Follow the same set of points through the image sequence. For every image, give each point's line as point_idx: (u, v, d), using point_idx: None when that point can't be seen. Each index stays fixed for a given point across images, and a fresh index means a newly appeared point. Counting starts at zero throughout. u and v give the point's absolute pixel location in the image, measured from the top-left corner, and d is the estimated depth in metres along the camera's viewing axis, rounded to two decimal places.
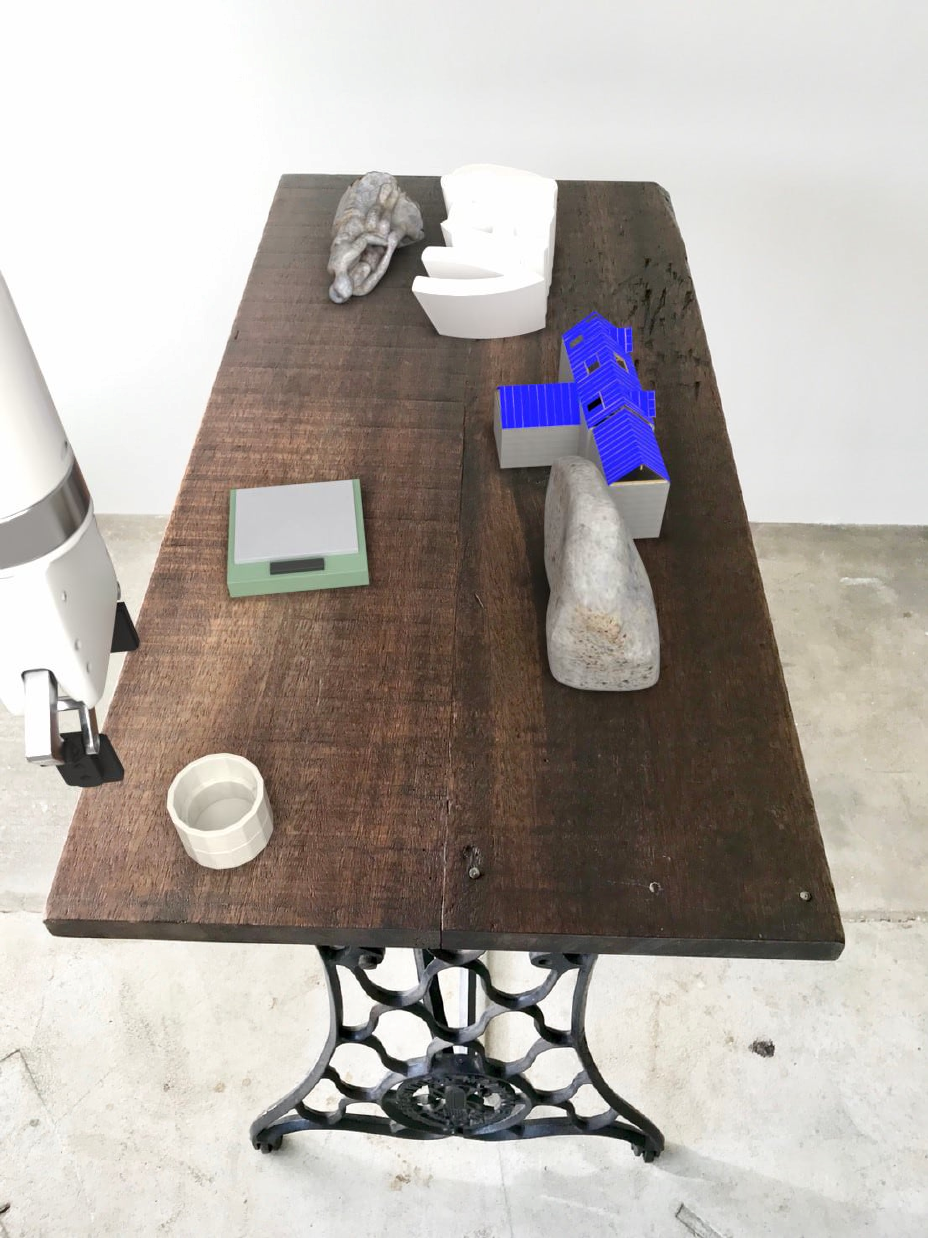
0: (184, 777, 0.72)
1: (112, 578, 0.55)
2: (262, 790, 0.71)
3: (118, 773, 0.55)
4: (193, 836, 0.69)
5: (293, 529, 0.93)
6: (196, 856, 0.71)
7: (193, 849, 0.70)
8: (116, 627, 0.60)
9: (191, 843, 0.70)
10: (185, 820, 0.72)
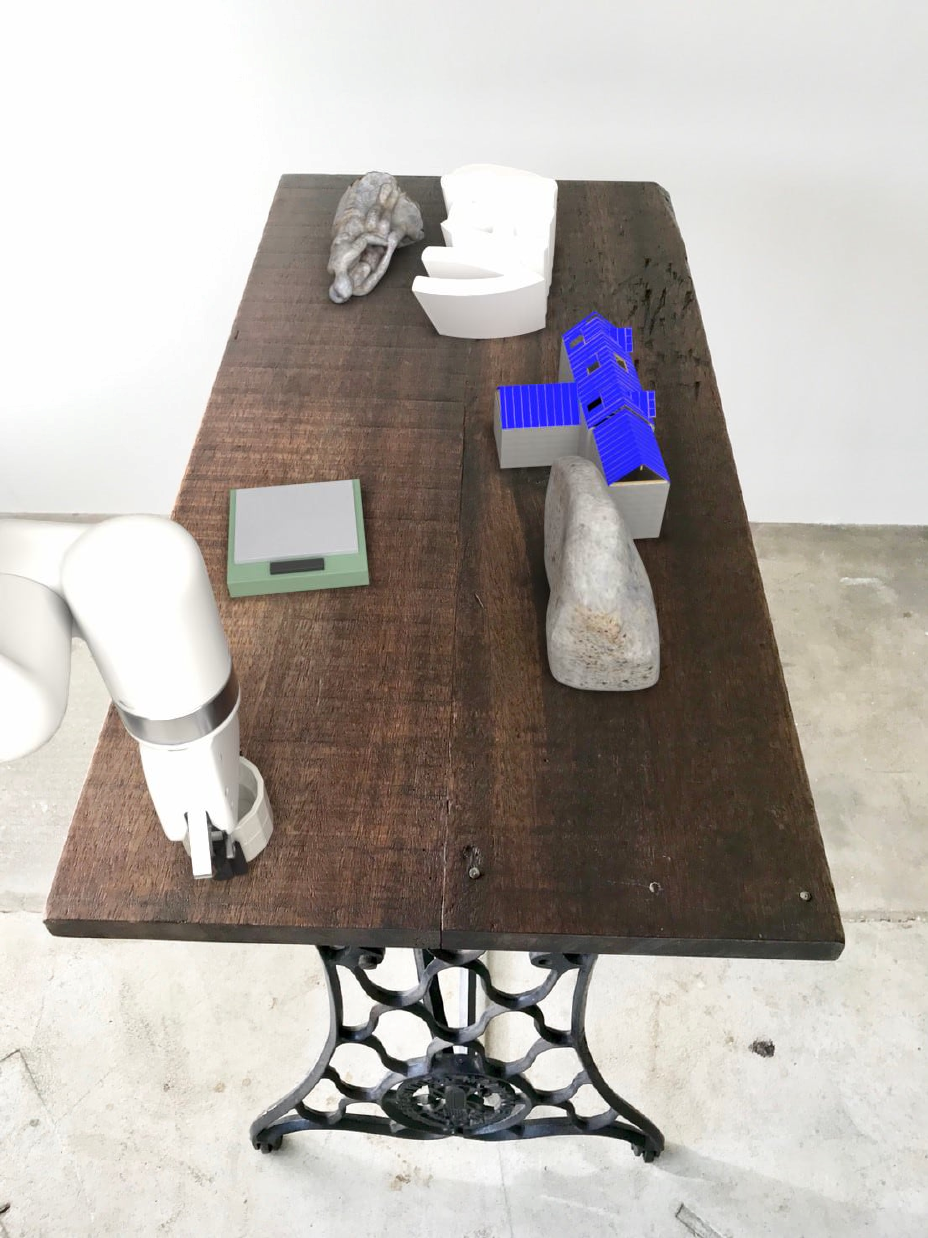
0: None
1: (238, 724, 0.70)
2: (262, 790, 0.71)
3: (244, 869, 0.71)
4: None
5: (293, 529, 0.93)
6: None
7: None
8: None
9: None
10: None
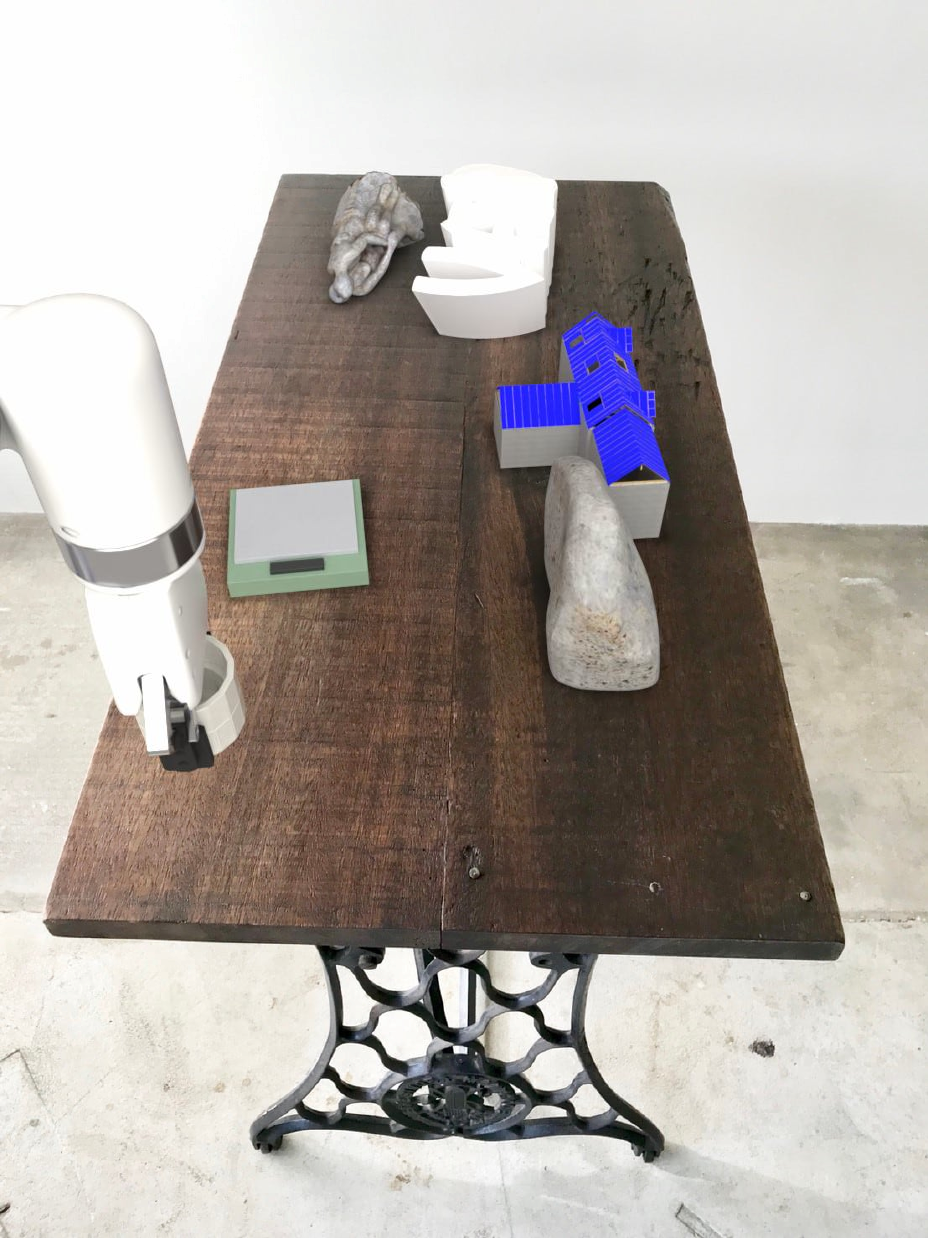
0: None
1: (205, 593, 0.61)
2: (232, 670, 0.62)
3: (210, 760, 0.62)
4: None
5: (293, 529, 0.93)
6: None
7: None
8: None
9: None
10: None
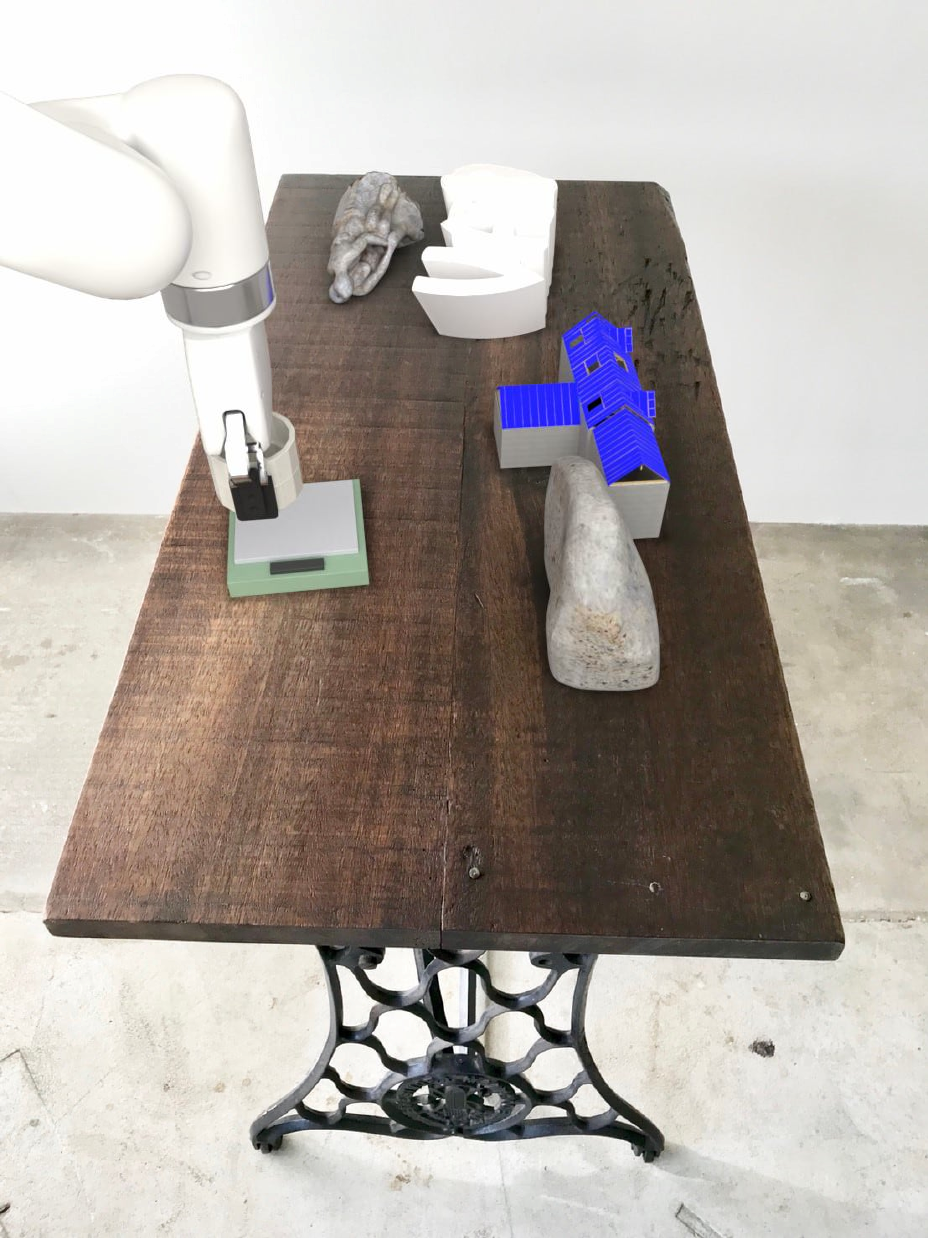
0: None
1: None
2: (293, 435, 0.75)
3: (275, 510, 0.75)
4: None
5: (293, 529, 0.93)
6: (231, 499, 0.76)
7: (228, 489, 0.75)
8: None
9: (227, 479, 0.74)
10: None
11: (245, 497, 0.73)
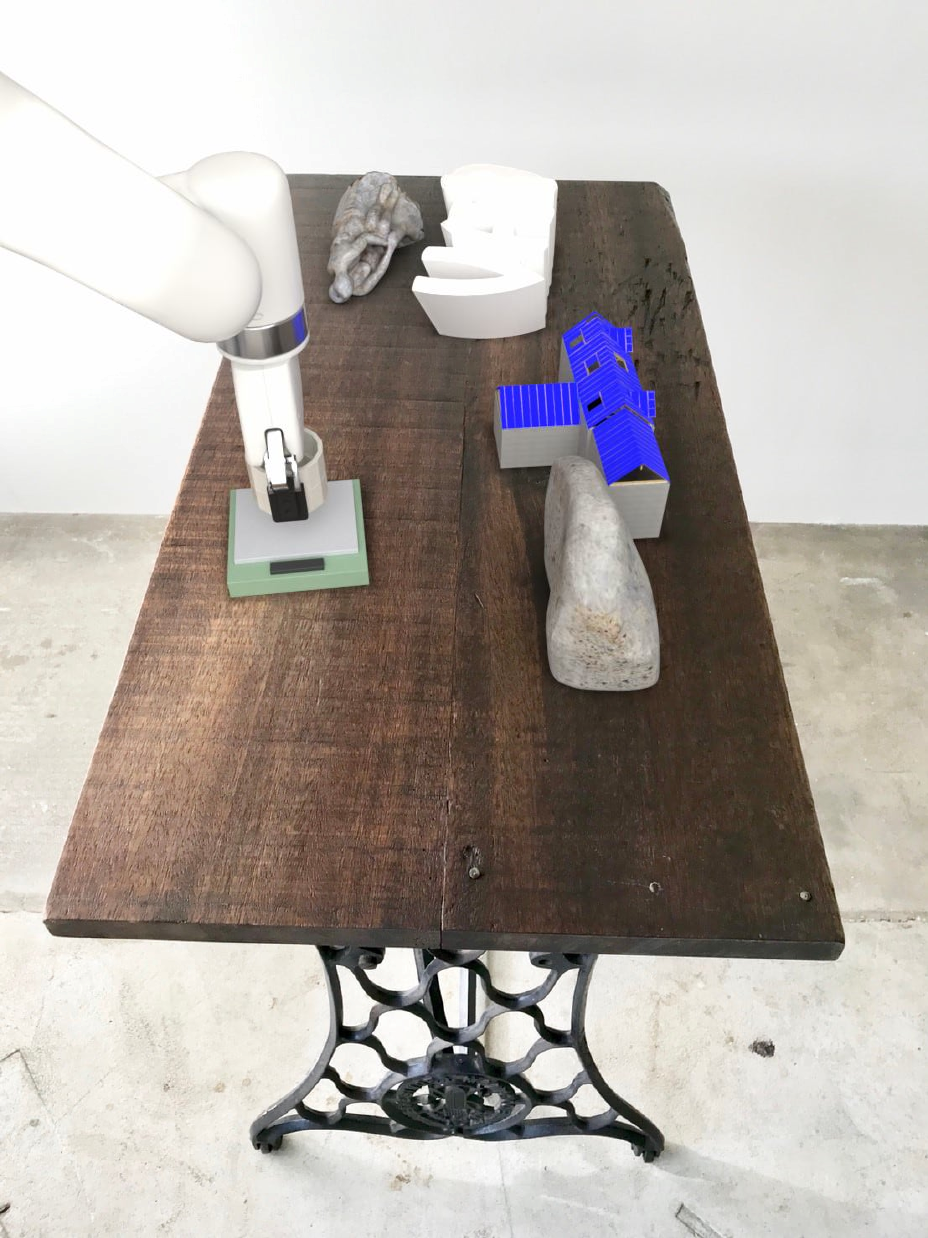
0: None
1: None
2: (321, 447, 0.87)
3: (306, 513, 0.87)
4: None
5: (293, 529, 0.93)
6: (267, 503, 0.87)
7: (265, 494, 0.86)
8: None
9: (264, 486, 0.86)
10: None
11: (281, 502, 0.85)
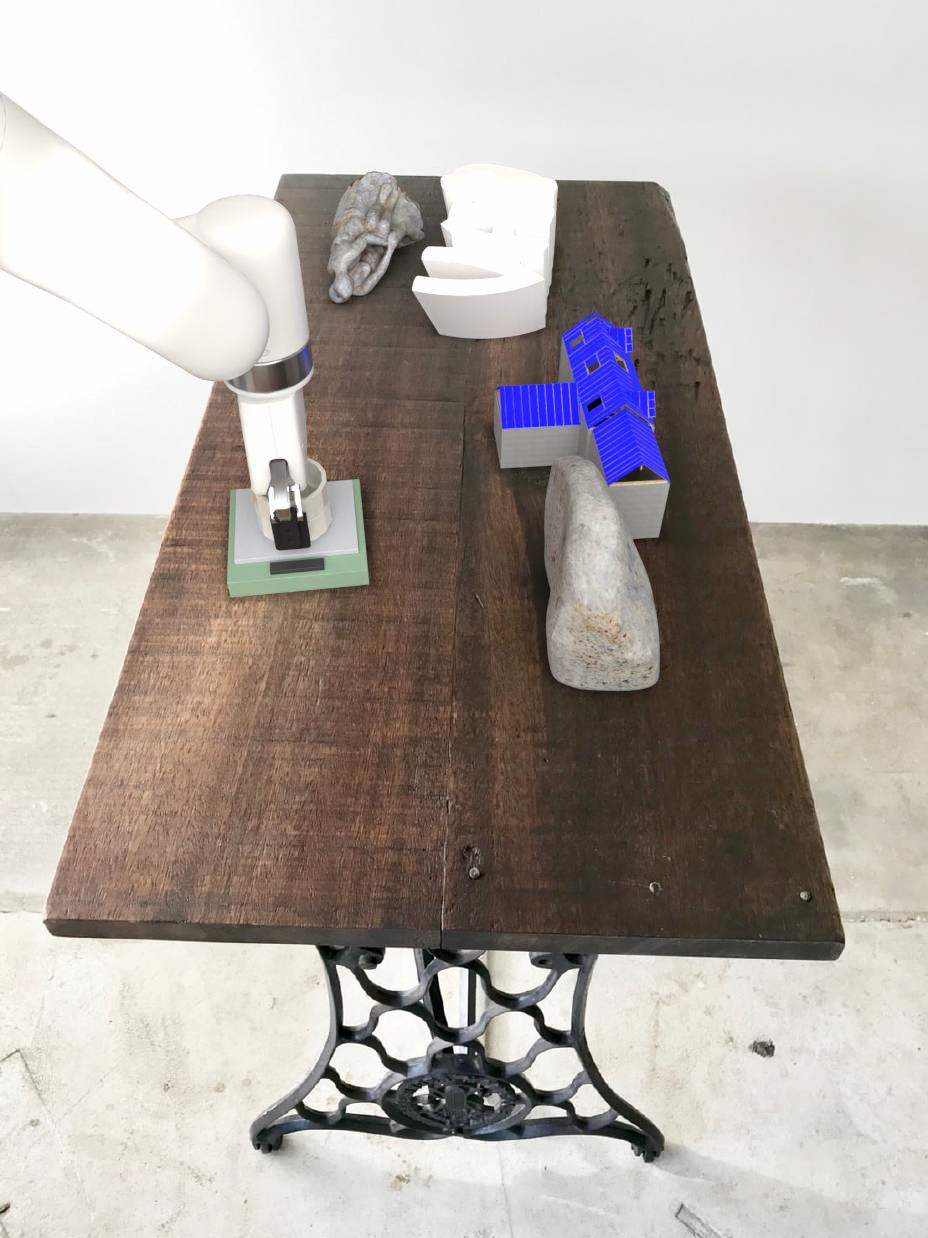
0: None
1: None
2: (325, 477, 0.89)
3: (308, 541, 0.88)
4: None
5: None
6: (272, 532, 0.90)
7: None
8: None
9: None
10: None
11: (284, 531, 0.86)
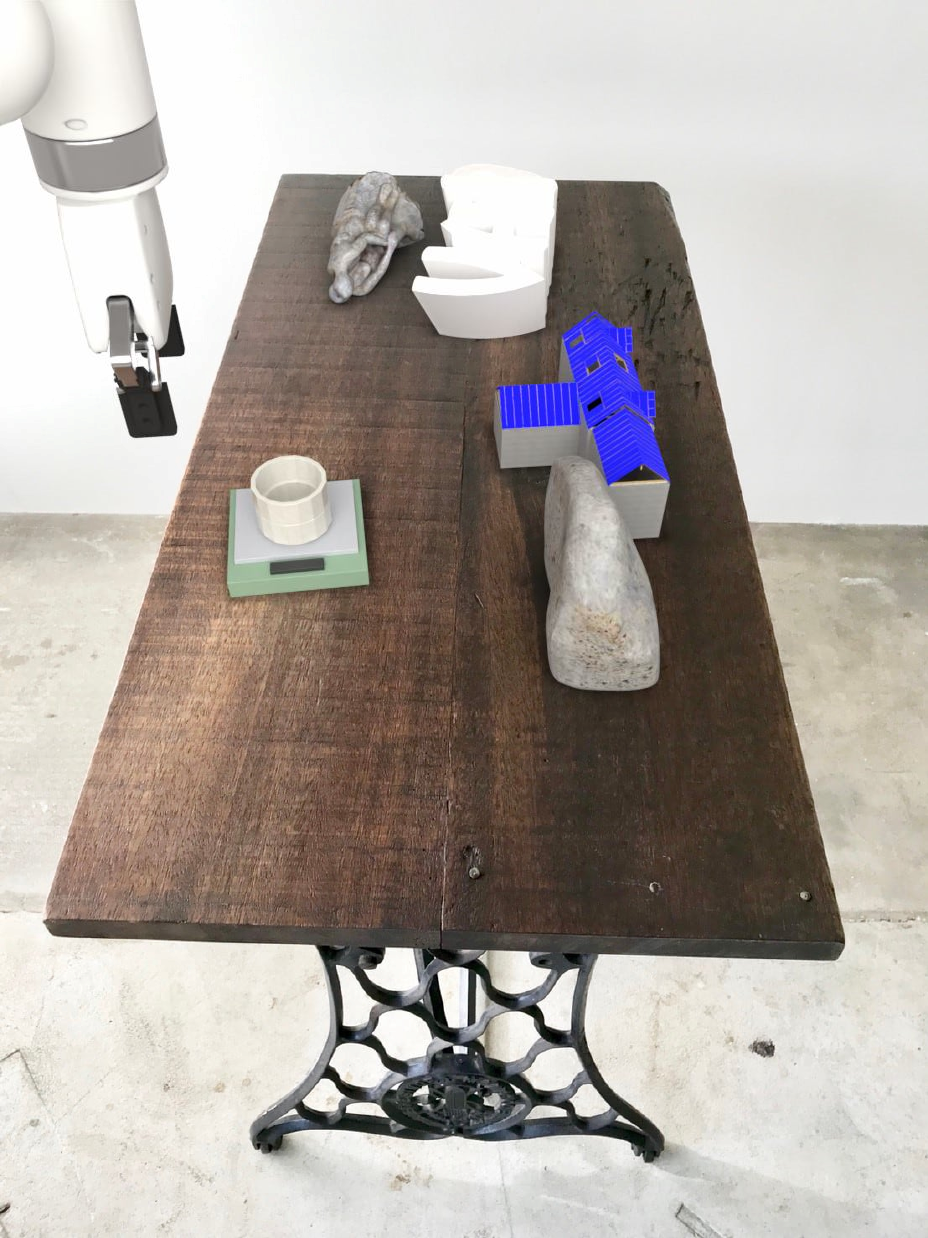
0: (262, 470, 0.90)
1: None
2: (325, 477, 0.89)
3: (173, 425, 0.66)
4: (272, 506, 0.87)
5: None
6: (272, 532, 0.90)
7: (271, 523, 0.89)
8: None
9: (270, 516, 0.88)
10: None
11: (136, 406, 0.64)
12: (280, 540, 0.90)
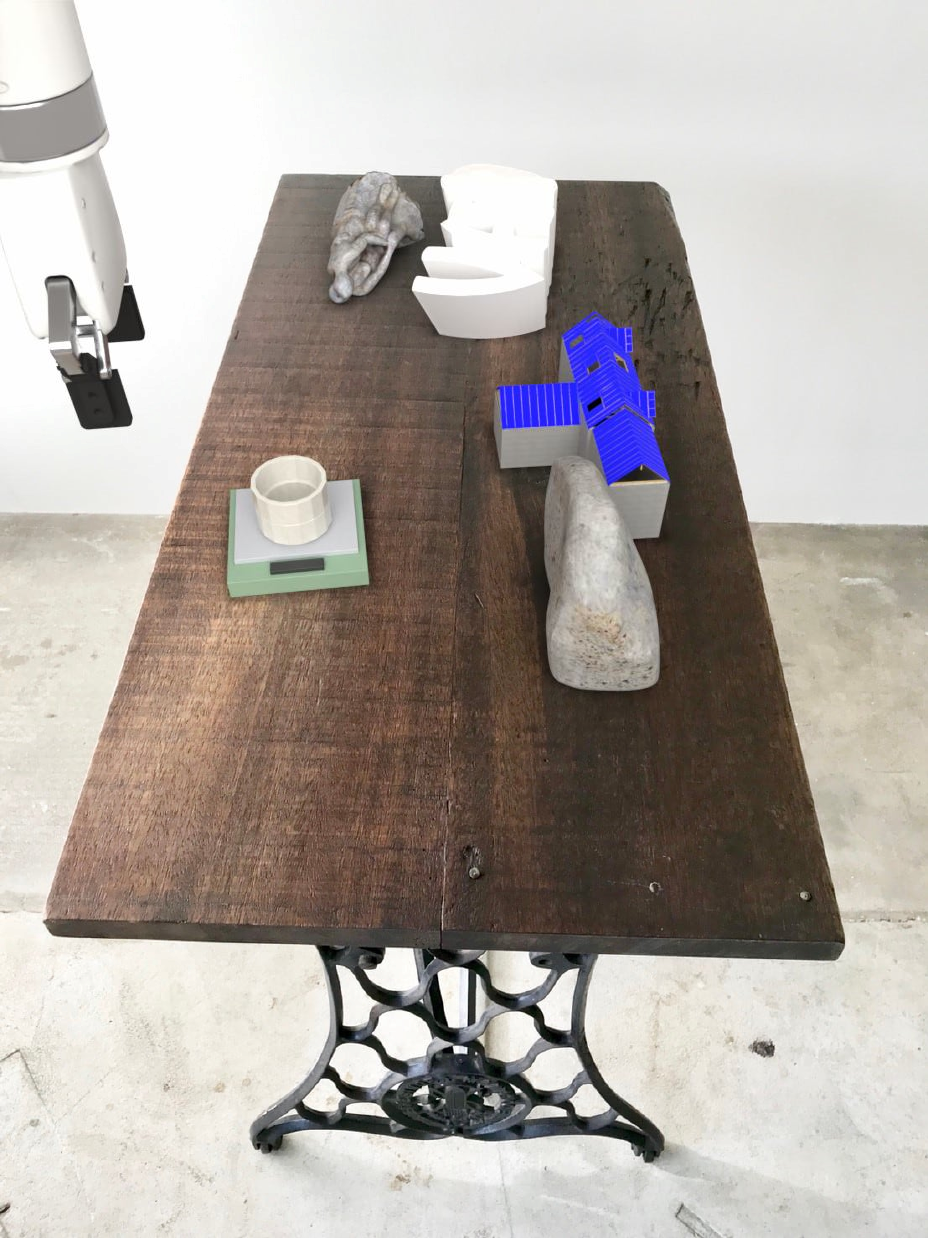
0: (262, 470, 0.90)
1: (122, 243, 0.62)
2: (325, 477, 0.89)
3: (127, 416, 0.62)
4: (272, 506, 0.87)
5: None
6: (272, 532, 0.90)
7: (271, 523, 0.89)
8: (124, 311, 0.66)
9: (270, 516, 0.88)
10: None
11: (84, 396, 0.59)
12: (280, 540, 0.90)
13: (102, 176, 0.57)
